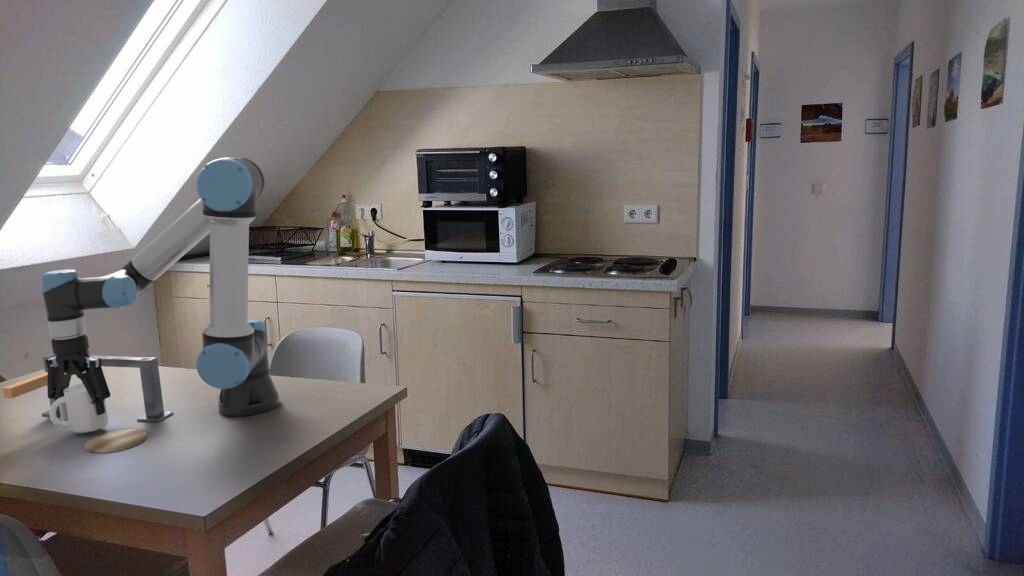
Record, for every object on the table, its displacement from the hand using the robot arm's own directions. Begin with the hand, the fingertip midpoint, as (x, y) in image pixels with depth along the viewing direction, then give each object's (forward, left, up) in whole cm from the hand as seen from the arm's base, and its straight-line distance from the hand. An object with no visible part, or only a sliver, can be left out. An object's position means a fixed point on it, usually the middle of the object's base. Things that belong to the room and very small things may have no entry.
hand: (84, 426), depth 183 cm
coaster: (-12, +3, -2) cm, 12 cm away
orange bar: (+12, -4, +9) cm, 16 cm away
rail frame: (+5, -13, -2) cm, 14 cm away
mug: (+1, 0, -1) cm, 1 cm away
